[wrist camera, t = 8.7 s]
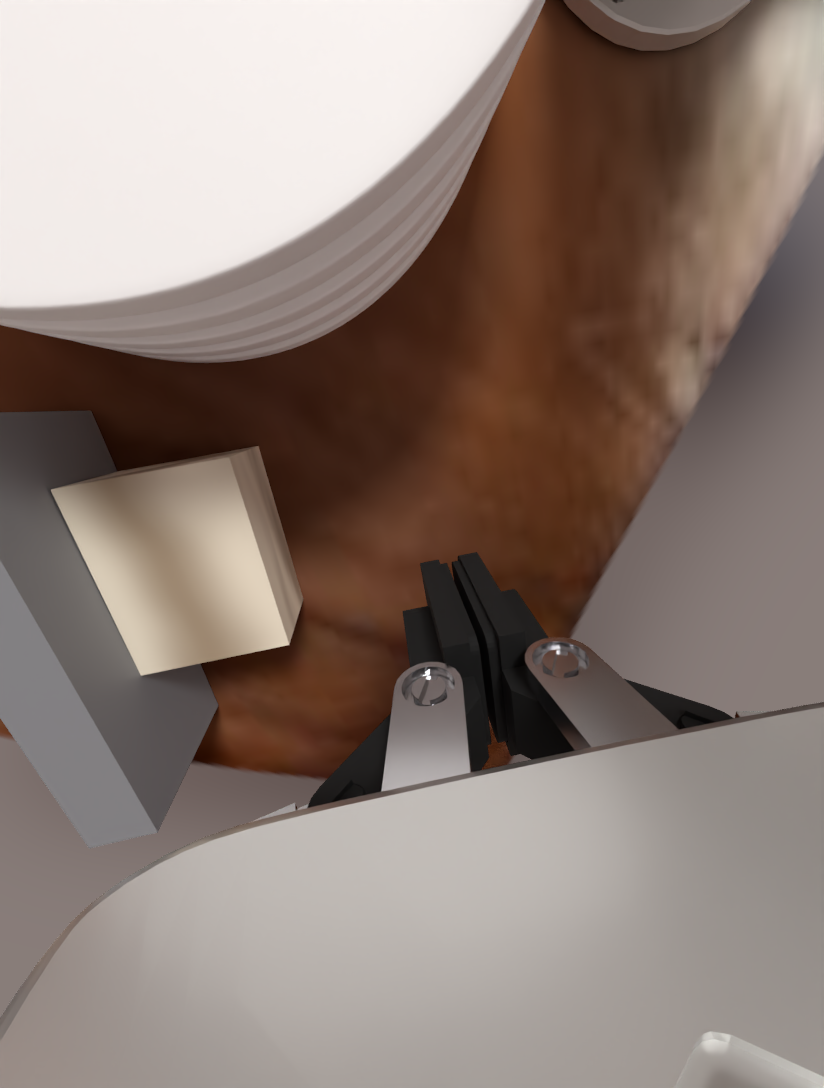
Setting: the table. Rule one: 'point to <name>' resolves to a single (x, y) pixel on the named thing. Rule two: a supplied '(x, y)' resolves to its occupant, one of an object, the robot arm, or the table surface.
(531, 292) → the table surface
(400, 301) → the table surface
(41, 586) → the gray board
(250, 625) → the cream block
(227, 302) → the plate stack
